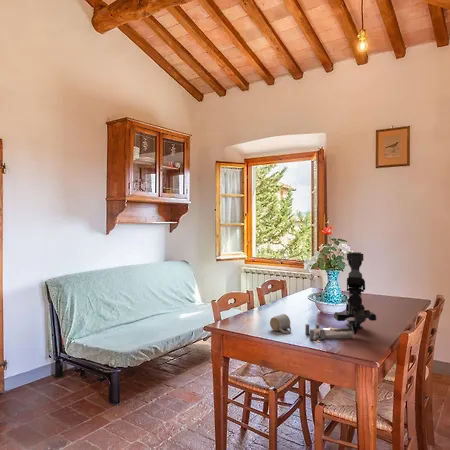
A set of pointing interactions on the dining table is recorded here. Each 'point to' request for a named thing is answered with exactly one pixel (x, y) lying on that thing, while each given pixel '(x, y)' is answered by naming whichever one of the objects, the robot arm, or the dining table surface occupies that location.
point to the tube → (334, 333)
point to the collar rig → (313, 333)
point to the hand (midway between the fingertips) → (354, 334)
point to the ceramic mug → (280, 323)
